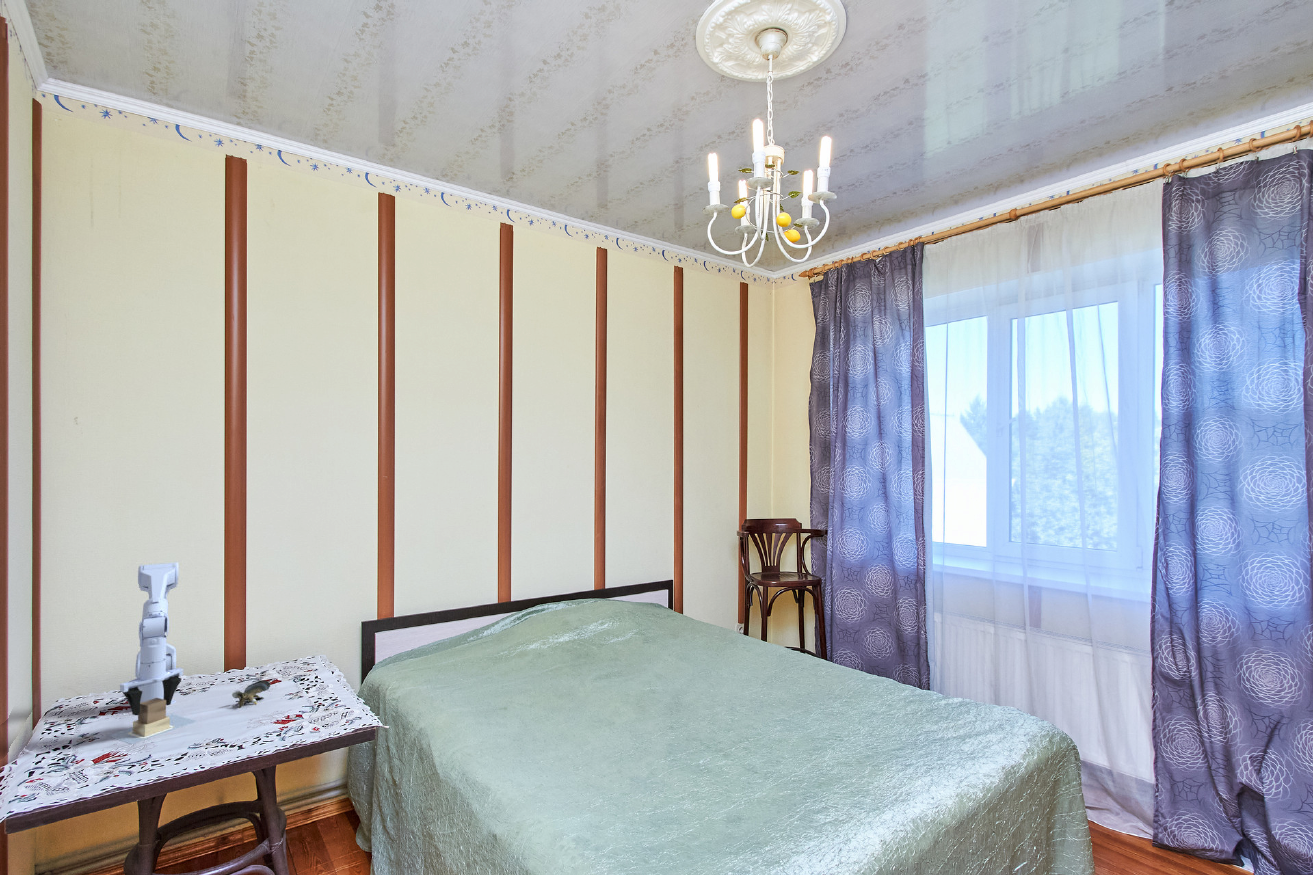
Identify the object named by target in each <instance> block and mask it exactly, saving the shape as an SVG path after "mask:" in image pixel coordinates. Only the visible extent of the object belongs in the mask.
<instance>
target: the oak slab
mask: <svg viewBox="0 0 1313 875" xmlns="http://www.w3.org/2000/svg"><path fill="white" fill-rule="evenodd" d="M167 716H168V715H166V718H164V719H161V720H159V721H156V722H153V723H150V724H145V723H141V722H138V719H137V720H134V721H133V722H132V727H133V733H135V734H138V735H141V736H144V737H145V736H148V735H151V734H154V733H157V732H160V731H162V730H165V729H168V728H170V717H167Z"/></svg>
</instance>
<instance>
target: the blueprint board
mask: <svg viewBox="0 0 1313 875" xmlns="http://www.w3.org/2000/svg"><path fill="white" fill-rule="evenodd" d="M166 716H167V717H170V728H168V729H165V730H162V731H160V732H157V733H154V734H151V735H148V736H145V737H144V736H141V735H138V734H135V733H133V726H132V727H130V728H127V729H124V730H120V731H118V732H115V733H112V734H109V735H107V737H109V738H112V739H116V740H117V741H118V740H119V741H121V742H124V743H127V744H129V745H134V744H136V743H139V742H142V741H145V740H148V739H151V738H154V737H157V736H159V735H162V734H165V733H167V732H171V731H174V730H176V729H179V728H182V727H184V726H187V725H190V724H193V723H196V722H197V720H194V719H191V718H187V717H184V716H180V715H177V714H174V713H173V714H172V713H171V714H169V715H166Z"/></svg>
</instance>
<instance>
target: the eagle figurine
mask: <svg viewBox="0 0 1313 875" xmlns="http://www.w3.org/2000/svg"><path fill="white" fill-rule="evenodd" d="M271 686H272V684H271V683H270V682H269V681H268V680H263V679H261V680H258V681H256V682H253V683H251V684H249V685H247V686H246V688H245V689H244V692H242V691H240V690H235V691H234V692H232V694H231V696H232V697H233V698H234V699H238V700H235V703H239V706H238V709H241V708H242V707H243V705H244V703H245V702H246V701H247V702H252V703H253V704H255V705H257V704H258V702H257V700H256V699H258V698H259V699H264V697H263V696H259V695H258V694H260V693H262V692H266V691H268V690H269V689H270V688H271Z"/></svg>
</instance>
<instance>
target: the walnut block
mask: <svg viewBox="0 0 1313 875" xmlns="http://www.w3.org/2000/svg"><path fill="white" fill-rule="evenodd" d="M166 713H167V706H166V700H164V699H160V698H154V699H151V700H148V701H144V702H141V703H140V714H139V715H137V720H138V722H141V723H145V724H150V723H153V722H156V721H159V720H161V719H164V718H166V716H167V714H166Z"/></svg>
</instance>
